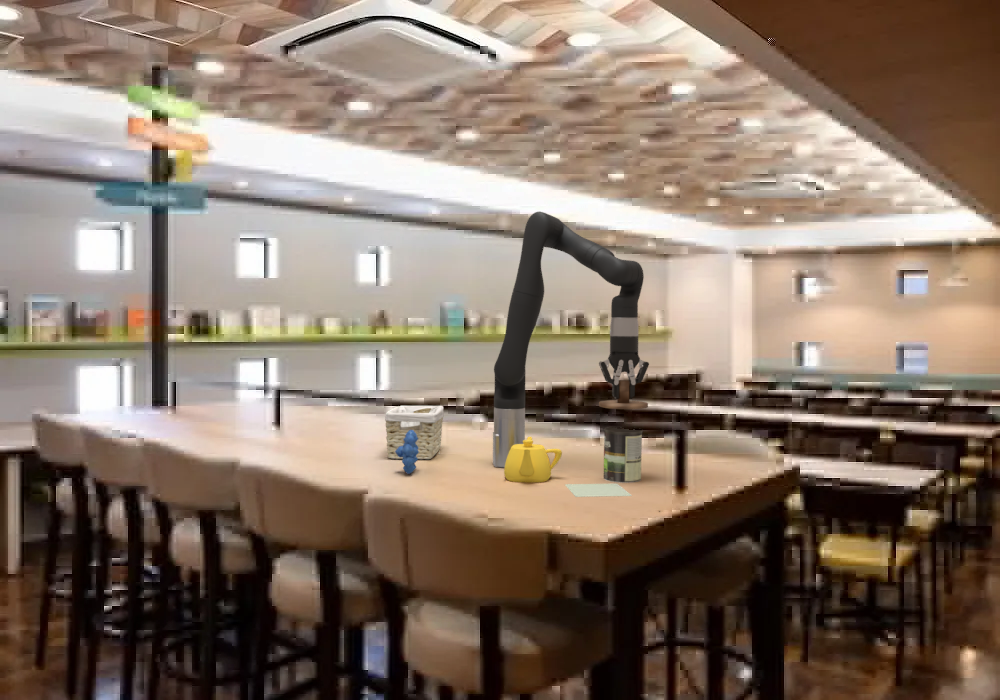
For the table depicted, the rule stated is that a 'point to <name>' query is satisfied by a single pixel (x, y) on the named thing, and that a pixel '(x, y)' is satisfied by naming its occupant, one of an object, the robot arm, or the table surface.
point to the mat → (597, 490)
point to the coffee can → (622, 455)
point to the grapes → (409, 451)
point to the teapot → (529, 462)
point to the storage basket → (414, 429)
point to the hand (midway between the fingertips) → (623, 398)
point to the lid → (623, 399)
